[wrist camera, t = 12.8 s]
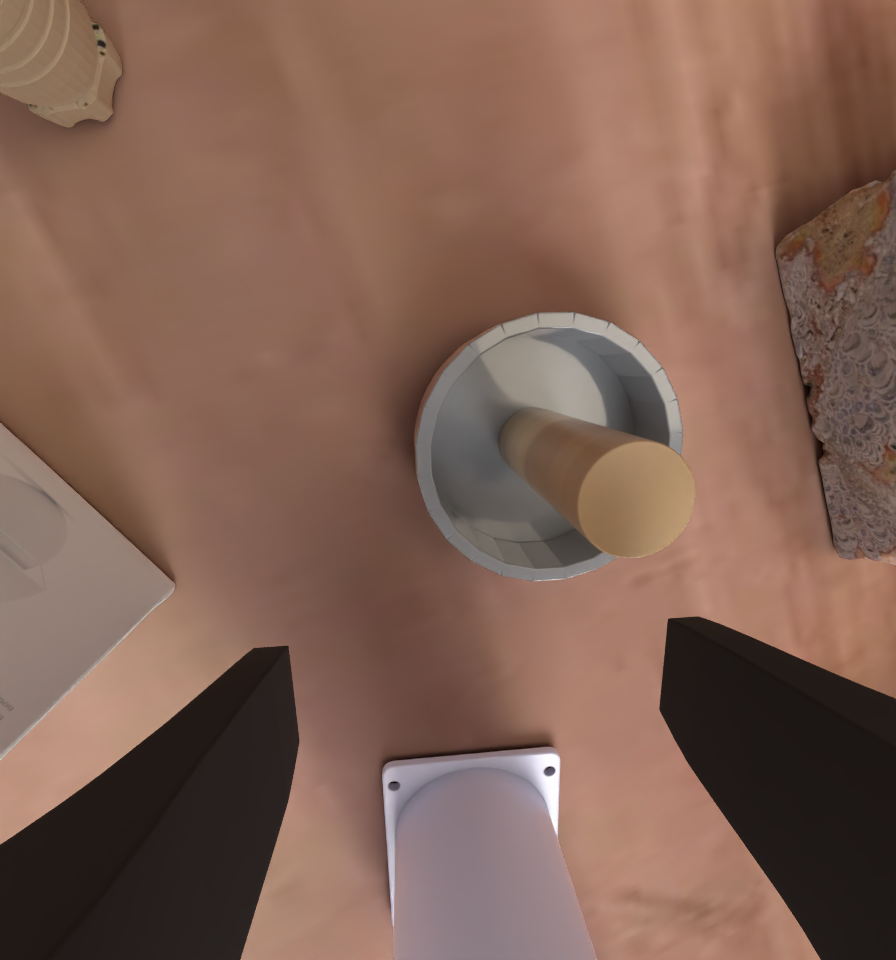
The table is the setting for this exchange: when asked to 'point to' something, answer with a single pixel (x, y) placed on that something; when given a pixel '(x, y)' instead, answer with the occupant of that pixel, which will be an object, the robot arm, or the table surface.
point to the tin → (500, 394)
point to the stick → (602, 480)
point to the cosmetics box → (59, 589)
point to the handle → (57, 60)
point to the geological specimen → (850, 359)
